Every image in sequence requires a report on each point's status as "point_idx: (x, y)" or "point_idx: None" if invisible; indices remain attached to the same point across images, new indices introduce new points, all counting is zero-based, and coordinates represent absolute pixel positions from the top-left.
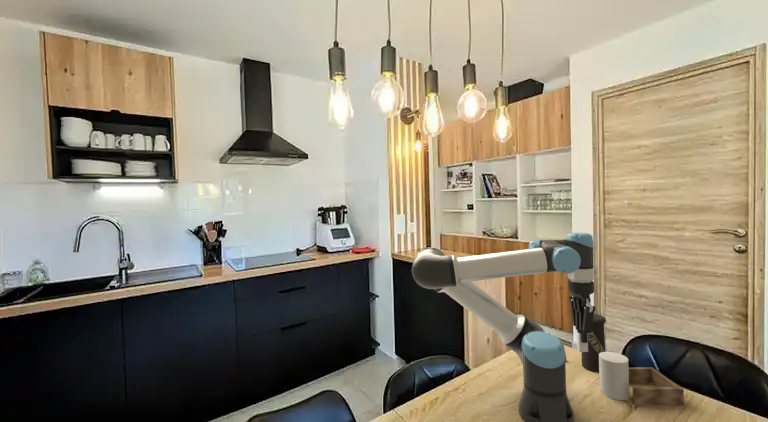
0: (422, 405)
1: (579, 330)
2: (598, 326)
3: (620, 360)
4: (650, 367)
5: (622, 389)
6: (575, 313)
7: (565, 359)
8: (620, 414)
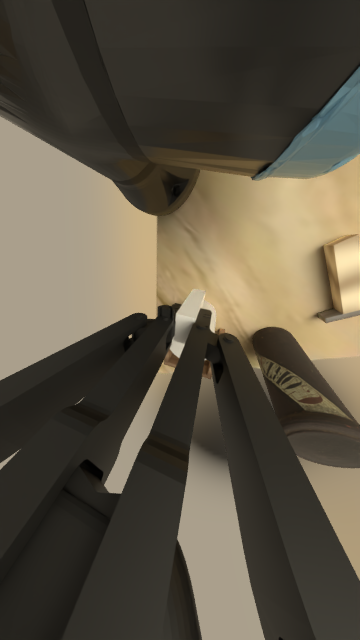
0: None
1: (167, 317)
2: (279, 413)
3: (175, 345)
4: (210, 377)
5: None
6: (192, 400)
7: (320, 317)
8: (158, 288)
